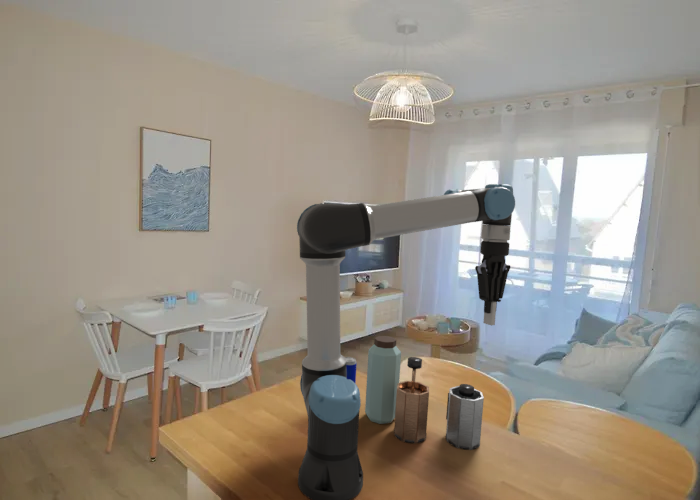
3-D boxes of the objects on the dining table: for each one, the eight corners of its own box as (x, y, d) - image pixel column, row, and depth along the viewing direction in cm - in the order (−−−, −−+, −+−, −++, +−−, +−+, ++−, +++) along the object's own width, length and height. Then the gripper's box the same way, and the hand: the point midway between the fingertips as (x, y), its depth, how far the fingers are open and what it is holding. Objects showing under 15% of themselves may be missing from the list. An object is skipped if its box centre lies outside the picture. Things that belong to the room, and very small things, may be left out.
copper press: (409, 446, 113) (412, 397, 111) (384, 429, 121) (387, 383, 120) (433, 437, 118) (436, 390, 117) (408, 421, 126) (411, 377, 125)
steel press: (464, 453, 111) (468, 403, 110) (436, 435, 119) (439, 388, 118) (486, 443, 116) (490, 395, 115) (458, 427, 125) (461, 382, 123)
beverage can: (336, 401, 138) (338, 357, 136) (350, 398, 140) (352, 355, 139) (342, 407, 133) (344, 362, 132) (356, 405, 135) (359, 361, 134)
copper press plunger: (412, 402, 113) (414, 365, 112) (396, 393, 119) (398, 357, 118) (429, 397, 117) (431, 361, 116) (412, 388, 123) (415, 354, 122)
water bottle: (396, 411, 133) (401, 335, 130) (397, 427, 123) (402, 345, 121) (365, 408, 134) (370, 333, 131) (363, 423, 124) (368, 342, 122)
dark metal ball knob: (465, 431, 112) (468, 393, 111) (447, 420, 118) (449, 384, 117) (480, 425, 116) (484, 388, 115) (462, 415, 121) (465, 380, 120)
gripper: (492, 242, 107) (485, 330, 110) (521, 241, 115) (514, 324, 117) (468, 239, 114) (463, 323, 116) (497, 239, 121) (492, 318, 123)
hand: (489, 323), depth 116 cm, fingers closed
